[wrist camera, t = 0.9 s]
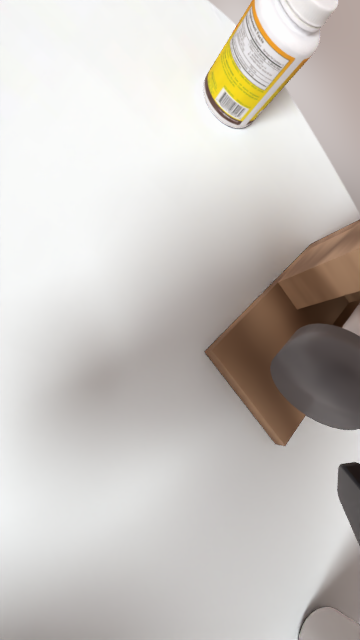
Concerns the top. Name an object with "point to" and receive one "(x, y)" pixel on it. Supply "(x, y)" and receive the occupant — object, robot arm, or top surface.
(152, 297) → the top surface
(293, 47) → the supplement bottle
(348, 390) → the knob
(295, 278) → the mount
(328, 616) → the beverage can
